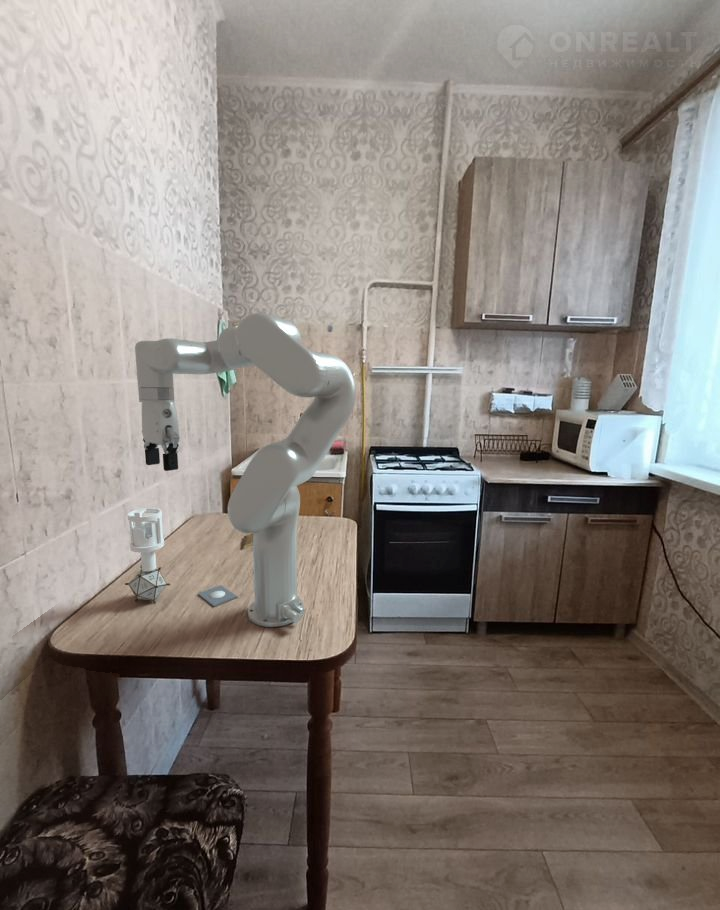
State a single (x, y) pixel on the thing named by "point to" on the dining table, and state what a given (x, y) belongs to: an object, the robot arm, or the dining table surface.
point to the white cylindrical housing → (146, 535)
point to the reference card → (217, 595)
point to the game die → (147, 584)
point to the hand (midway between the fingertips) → (161, 467)
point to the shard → (248, 541)
